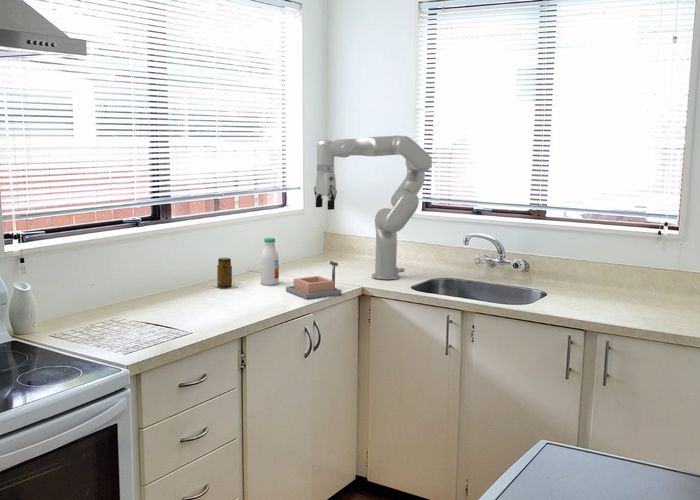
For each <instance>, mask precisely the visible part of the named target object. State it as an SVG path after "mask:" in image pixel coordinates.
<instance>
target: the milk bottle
mask: <svg viewBox="0 0 700 500" xmlns="http://www.w3.org/2000/svg"><path fill="white" fill-rule="evenodd" d="M263 242H264V247H263V249H262V253H261V254H260V255H261V256H260V284H261V285H263V286H276V285H278V284H279V281H280V280H279V279H280V278H279V275H280V272H279V271H280V269H279V268H280V265H279V264H280V263H279V253H278V251H277V249H276V247H275V244H276V238H275V237H265V238H264V240H263Z"/></svg>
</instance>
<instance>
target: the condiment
mask: <svg viewBox="0 0 700 500" xmlns="http://www.w3.org/2000/svg"><path fill="white" fill-rule="evenodd" d="M231 260H232V259H231V258H230V257H220V258H217V261H218V262H217V267H216V268H217V270H216V271H217V273H216V275H217V276H216V277H217V281H216V282H217V284H214V285H212V286H213V287H216V288H219V289H222V290H228V289H235V288H237V286H236V285H233V284H232V283H233V267H232V261H231Z"/></svg>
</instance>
